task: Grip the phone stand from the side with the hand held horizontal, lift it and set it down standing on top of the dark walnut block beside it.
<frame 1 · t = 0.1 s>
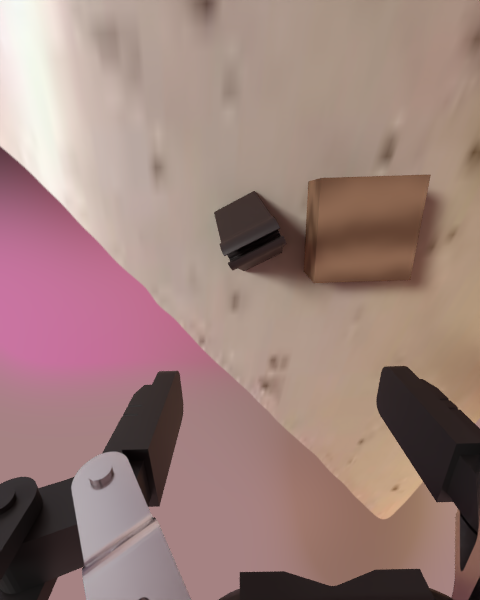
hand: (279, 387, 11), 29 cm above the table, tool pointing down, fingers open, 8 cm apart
walnut block: (348, 227, 37), on the table
phone stand: (248, 232, 37), on the table
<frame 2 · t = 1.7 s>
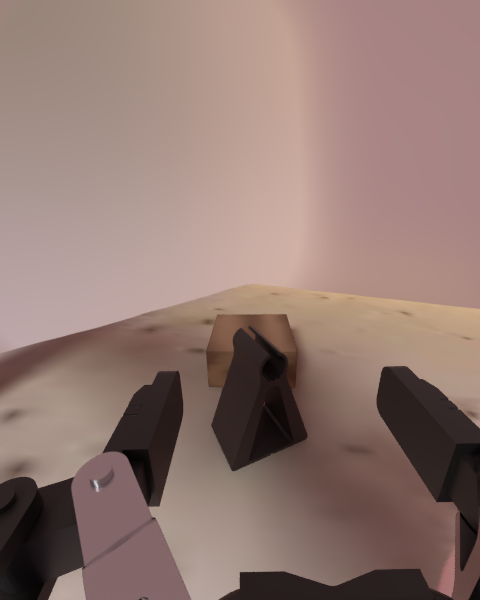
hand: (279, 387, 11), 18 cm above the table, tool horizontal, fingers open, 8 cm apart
walnut block: (251, 363, 43), on the table
phone stand: (258, 434, 30), on the table
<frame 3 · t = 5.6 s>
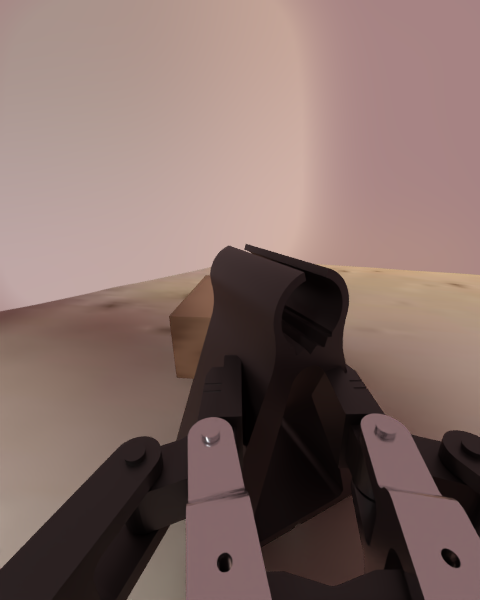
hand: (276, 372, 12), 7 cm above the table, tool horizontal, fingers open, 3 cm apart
walnut block: (252, 347, 28), on the table
phone stand: (265, 473, 15), on the table, touching gripper
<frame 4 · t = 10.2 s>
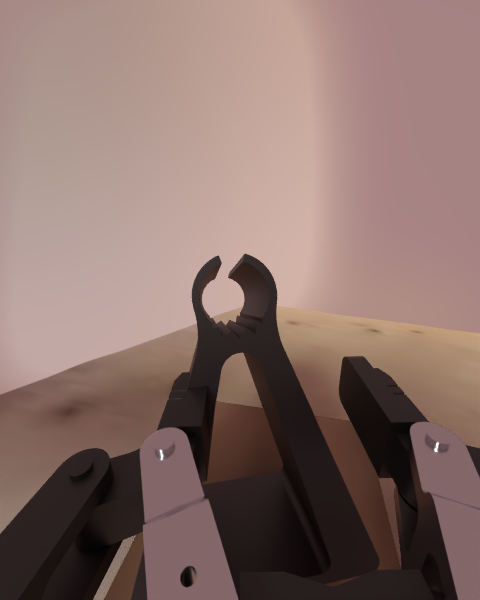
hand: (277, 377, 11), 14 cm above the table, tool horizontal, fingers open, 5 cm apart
walnut block: (268, 553, 17), on the table, touching phone stand
phone stand: (248, 532, 12), point 7 cm above the table, touching gripper, walnut block
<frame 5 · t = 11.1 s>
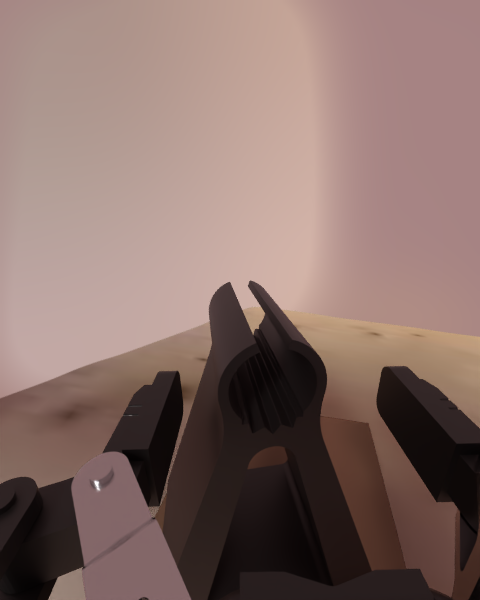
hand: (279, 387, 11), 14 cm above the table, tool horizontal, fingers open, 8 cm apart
walnut block: (274, 549, 18), on the table, touching phone stand
phone stand: (255, 532, 13), point 5 cm above the table, touching walnut block
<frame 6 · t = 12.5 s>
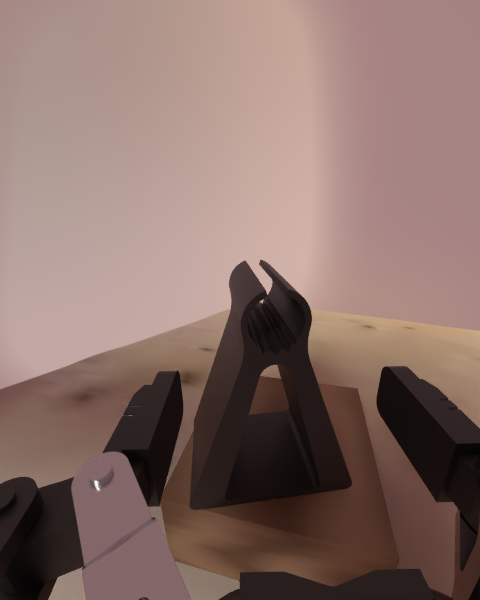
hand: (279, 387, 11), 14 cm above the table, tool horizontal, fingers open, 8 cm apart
walnut block: (277, 490, 21), on the table, touching phone stand
phone stand: (262, 454, 18), point 5 cm above the table, touching walnut block
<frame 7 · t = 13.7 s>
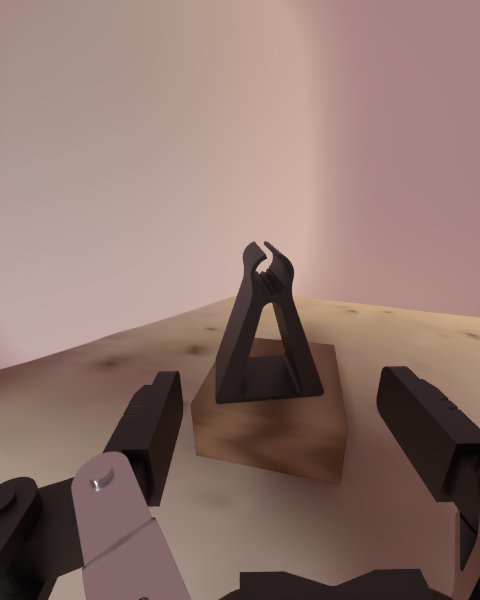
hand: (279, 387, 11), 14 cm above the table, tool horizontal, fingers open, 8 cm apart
walnut block: (272, 418, 28), on the table
phone stand: (264, 379, 25), point 5 cm above the table
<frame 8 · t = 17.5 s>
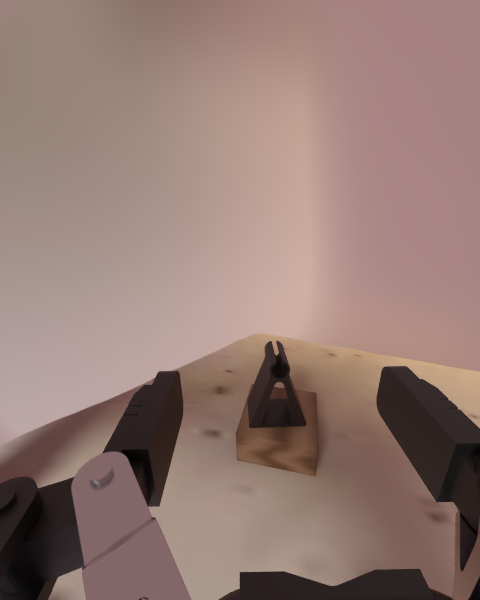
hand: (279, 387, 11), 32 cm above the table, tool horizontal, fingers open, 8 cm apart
walnut block: (278, 438, 47), on the table, touching phone stand
phone stand: (275, 414, 45), point 5 cm above the table, touching walnut block
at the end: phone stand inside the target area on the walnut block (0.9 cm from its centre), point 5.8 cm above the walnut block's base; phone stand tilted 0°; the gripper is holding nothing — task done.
